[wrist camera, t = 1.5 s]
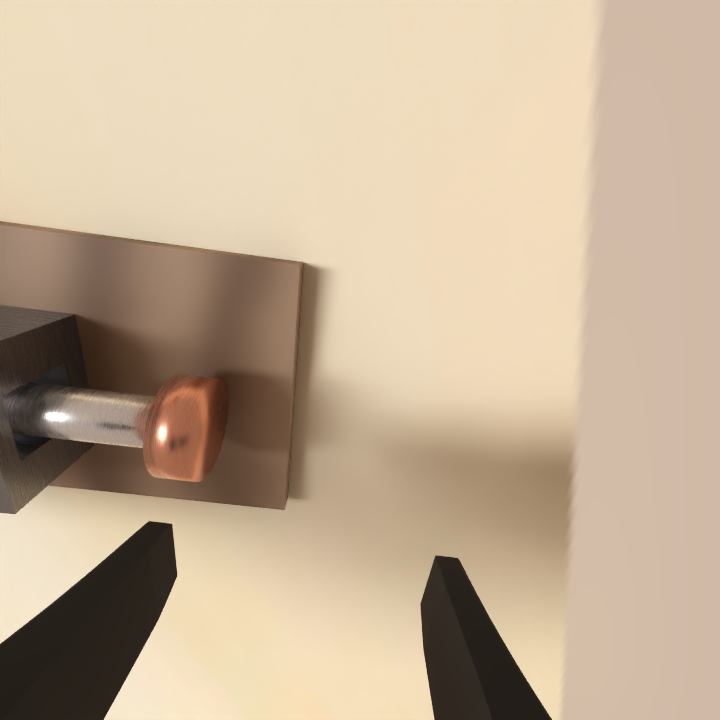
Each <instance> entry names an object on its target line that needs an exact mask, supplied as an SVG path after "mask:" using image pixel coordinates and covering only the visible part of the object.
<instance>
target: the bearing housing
mask: <svg viewBox="0 0 720 720" xmlns="http://www.w3.org/2000/svg"><path fill="white" fill-rule="evenodd" d="M28 382H36V383H44V384H53V385H61V386H70V387H79V388H87V389H89V385H88V379H87V374H86V369H85V363H84V358H83V353H82V348H81V342H80V337H79V332H78V327H77V321H76V316H75V314H70V313H62V312H54V311H46V310H38V309H30V308H22V307H14V306H6V305H0V513H9V514H16V513H17V512H18V511H19V510H20V509H21V508H23V507H24V506H25V505H26V504H27V503H28V502H29V501H31V500H32V499H33V498H34V497H35V496H36V495H38V494H39V493H40V492H41V491H42V490H43V489H44V488H46V487H47V486H48V485H49V484H50V483H51V482H53V481H54V480H55V479H56V478H57V477H58V476H59V475H61V474H62V473H63V472H64V471H65V470H66V469H68V468H69V467H70V466H71V465H72V464H73V463H74V462H76V461H77V460H78V459H79V458H80V457H81V456H83V455H84V454H85V453H86V452H87V451H88V450H89V449H91V448H92V447H93V446H94V445H95V444H96V443H93V442H84V441H74V440H65V439H56V438H47V437H38V436H29V435H20V434H12V430H11V427H10V424H9V421H8V417H7V414H6V411H5V407H4V404H3V401H2V397H1V396H2V395H4V394H6V393H8V392H10V391H12V390H14V389H16V388H18V387H20V386H22V385H24V384H26V383H28Z"/></svg>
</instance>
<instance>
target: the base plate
mask: <svg viewBox="0 0 720 720" xmlns="http://www.w3.org/2000/svg"><path fill="white" fill-rule="evenodd" d="M302 275H303V262H297V261H289V260H282V259H275V258H267V257H260V256H253V255H245V254H238V253H230V252H223V251H216V250H208V249H201V248H193V247H186V246H179V245H171V244H164V243H156V242H149V241H142V240H134V239H127V238H119V237H112V236H105V235H97V234H90V233H82V232H75V231H68V230H60V229H53V228H45V227H38V226H31V225H23V224H16V223H9V222H1V221H0V305H6V306H14V307H22V308H30V309H38V310H46V311H54V312H62V313H70V314H75V316H76V321H77V327H78V332H79V337H80V342H81V348H82V353H83V358H84V363H85V369H86V374H87V379H88V385H89V389H96V390H105V391H113V392H122V393H130V394H139V395H148V396H156V395H157V394H158V392H159V390H160V389H161V387H162V386H163V385H164V383H165V382H166V381H167V380H168V379H169V378H171V377H172V376H174V375H177V374H186V375H195V376H203V377H211V378H219V379H221V380H222V381H223V382H224V383H225V386H226V389H227V393H228V418H227V426H226V431H225V436H224V440H223V443H222V447H221V450H220V453H219V455H218V458H217V460H216V462H215V464H214V466H213V468H212V470H211V471H210V473H209V474H208V475H207V477H206V478H205V479H203V480H202V481H200V482H191V481H182V480H172V479H163V478H156V477H153V476H152V475H151V474H150V473H149V472H148V470H147V468H146V465H145V462H144V456H143V448H138V447H129V446H120V445H111V444H102V443H96V444H95V445H94V446H93V447H92V448H91V449H89V450H88V451H87V452H86V453H85V454H84V455H83V456H81V457H80V458H79V459H78V460H77V461H76V462H74V463H73V464H72V465H71V466H70V467H69V468H68V469H66V470H65V471H64V472H63V473H62V474H61V475H59V476H58V477H57V478H56V479H55V480H54V481H53V482H51V483H50V484H49V485H50V486H59V487H69V488H79V489H88V490H98V491H108V492H117V493H127V494H136V495H146V496H156V497H165V498H175V499H185V500H194V501H204V502H213V503H223V504H233V505H242V506H252V507H262V508H271V509H281V510H284V509H285V505H286V502H287V498H288V485H289V470H290V455H291V440H292V425H293V410H294V395H295V380H296V365H297V350H298V335H299V320H300V305H301V290H302Z"/></svg>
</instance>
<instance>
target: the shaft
mask: <svg viewBox="0 0 720 720" xmlns="http://www.w3.org/2000/svg"><path fill="white" fill-rule="evenodd" d="M1 397H2V401H3V404H4V407H5V411H6V414H7V417H8V421H9V424H10V427H11V430H12V434H20V435H29V436H38V437H47V438H56V439H65V440H74V441H84V442H93V443H102V444H111V445H120V446H129V447H138V448H143V456H144V462H145V465H146V468H147V470H148V472H149V473H150V474H151V475H152V476H153V477H156V478H163V479H172V480H182V481H191V482H200V481H202V480H203V479H205V478H206V477H207V475H208V474H209V473H210V471H211V470H212V468H213V466H214V464H215V462H216V460H217V458H218V455H219V453H220V450H221V447H222V443H223V440H224V436H225V431H226V426H227V418H228V393H227V389H226V386H225V383H224V382H223V381H222V380H221V379H219V378H211V377H203V376H195V375H186V374H177V375H174V376H172V377H171V378H169V379H168V380H167V381H166V382H165V383H164V385H163V386H162V387H161V389H160V390H159V392H158V394H157V395H156V396H148V395H139V394H130V393H122V392H113V391H105V390H96V389H87V388H79V387H70V386H61V385H53V384H44V383H36V382H28V383H26V384H24V385H22V386H20V387H18V388H16V389H14V390H12V391H10V392H8V393H6V394H4V395H2V396H1Z"/></svg>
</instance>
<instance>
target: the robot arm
mask: <svg viewBox="0 0 720 720" xmlns="http://www.w3.org/2000/svg"><path fill="white" fill-rule="evenodd" d="M176 577H177V568H176V558H175V548H174V538H173V528H172V524H168V523H160V522H151V521H149V522H148V523H146V524H145V525H144V526H143V527H141V528H140V529H139V530H138V531H137V532H136V533H134V534H133V535H132V536H131V537H130V538H129V539H128V540H126V541H125V542H124V543H123V544H122V545H121V546H120V547H118V548H117V549H116V550H115V551H114V552H113V553H112V554H110V555H109V556H108V557H107V558H106V559H105V560H103V561H102V562H101V563H100V564H99V565H98V566H96V567H95V568H94V569H93V570H92V571H91V572H89V573H88V574H87V575H86V576H85V577H83V578H82V579H81V580H80V581H79V582H77V583H76V584H75V585H74V586H73V587H71V588H70V589H69V590H68V591H67V592H65V593H64V594H63V595H62V596H61V597H59V598H58V599H57V600H56V601H54V602H53V603H52V604H51V605H49V606H48V607H47V608H46V609H44V610H43V611H42V612H41V613H39V614H38V615H37V616H36V617H34V618H33V619H32V620H30V621H29V622H28V623H27V624H25V625H24V626H23V627H21V628H20V629H19V630H18V631H16V632H15V633H14V634H12V635H11V636H10V637H9V638H7V639H6V640H5V641H4V642H2V643H1V644H0V720H104V718H105V716H106V714H107V712H108V711H109V709H110V707H111V705H112V703H113V702H114V700H115V698H116V696H117V694H118V692H119V691H120V689H121V687H122V685H123V683H124V682H125V680H126V678H127V676H128V674H129V673H130V671H131V669H132V667H133V665H134V663H135V662H136V660H137V658H138V656H139V654H140V653H141V651H142V649H143V647H144V645H145V643H146V642H147V640H148V638H149V636H150V634H151V632H152V631H153V629H154V627H155V625H156V623H157V621H158V619H159V617H160V615H161V612H162V610H163V608H164V606H165V603H166V601H167V599H168V597H169V594H170V592H171V589H172V587H173V585H174V582H175V580H176ZM421 619H422V634H423V648H424V655H425V662H426V668H427V675H428V681H429V688H430V694H431V700H432V706H433V713H434V719H435V720H552V719H551V717H550V716H549V714H548V713H547V711H546V710H545V708H544V707H543V705H542V704H541V702H540V700H539V699H538V697H537V696H536V694H535V693H534V691H533V689H532V688H531V686H530V685H529V683H528V682H527V680H526V678H525V677H524V675H523V673H522V672H521V670H520V669H519V667H518V665H517V664H516V662H515V660H514V659H513V657H512V655H511V653H510V652H509V650H508V648H507V647H506V645H505V643H504V642H503V640H502V638H501V636H500V635H499V633H498V631H497V630H496V628H495V626H494V624H493V622H492V621H491V619H490V617H489V615H488V613H487V612H486V610H485V608H484V606H483V604H482V602H481V601H480V599H479V597H478V595H477V593H476V591H475V589H474V587H473V586H472V584H471V582H470V580H469V578H468V576H467V574H466V572H465V570H464V568H463V566H462V564H461V562H460V561H459V559H458V558H453V557H444V556H435V559H434V562H433V565H432V569H431V572H430V575H429V578H428V581H427V585H426V588H425V591H424V594H423V598H422V601H421Z"/></svg>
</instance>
